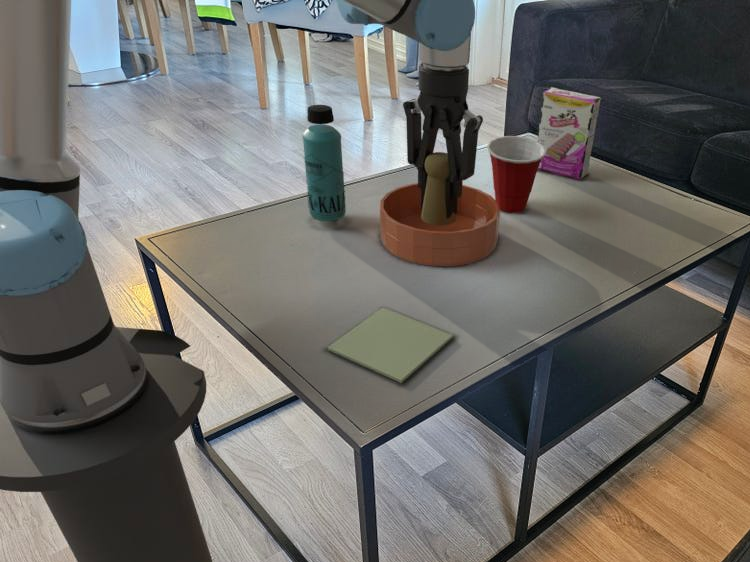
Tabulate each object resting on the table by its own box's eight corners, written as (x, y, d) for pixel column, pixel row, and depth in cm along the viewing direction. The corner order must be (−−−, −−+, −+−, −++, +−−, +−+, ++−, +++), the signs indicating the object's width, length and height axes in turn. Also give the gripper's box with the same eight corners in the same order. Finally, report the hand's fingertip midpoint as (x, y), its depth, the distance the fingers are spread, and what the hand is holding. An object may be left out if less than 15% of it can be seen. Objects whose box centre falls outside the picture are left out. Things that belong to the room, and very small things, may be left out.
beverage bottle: (316, 211, 118) (306, 98, 106) (352, 216, 118) (345, 102, 105) (304, 227, 113) (291, 110, 101) (341, 232, 113) (332, 114, 100)
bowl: (357, 242, 110) (355, 209, 106) (424, 203, 124) (424, 173, 120) (457, 279, 102) (459, 245, 99) (517, 232, 117) (520, 201, 113)
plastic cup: (481, 217, 121) (486, 154, 113) (483, 193, 129) (488, 133, 122) (539, 221, 121) (547, 159, 114) (538, 198, 129) (545, 138, 122)
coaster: (327, 350, 86) (327, 347, 85) (383, 309, 94) (383, 307, 94) (401, 383, 81) (401, 380, 81) (452, 337, 90) (452, 335, 89)
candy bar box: (532, 170, 141) (541, 91, 131) (540, 163, 145) (550, 86, 135) (581, 181, 138) (594, 101, 128) (588, 174, 141) (601, 96, 131)
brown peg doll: (454, 210, 114) (457, 148, 107) (457, 225, 109) (461, 162, 102) (419, 210, 113) (420, 147, 106) (422, 225, 108) (423, 161, 101)
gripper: (506, 71, 95) (493, 217, 110) (411, 50, 102) (410, 191, 116) (480, 80, 90) (470, 233, 104) (382, 57, 96) (384, 204, 111)
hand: (438, 211), depth 110 cm, fingers closed on brown peg doll, 4 cm apart
